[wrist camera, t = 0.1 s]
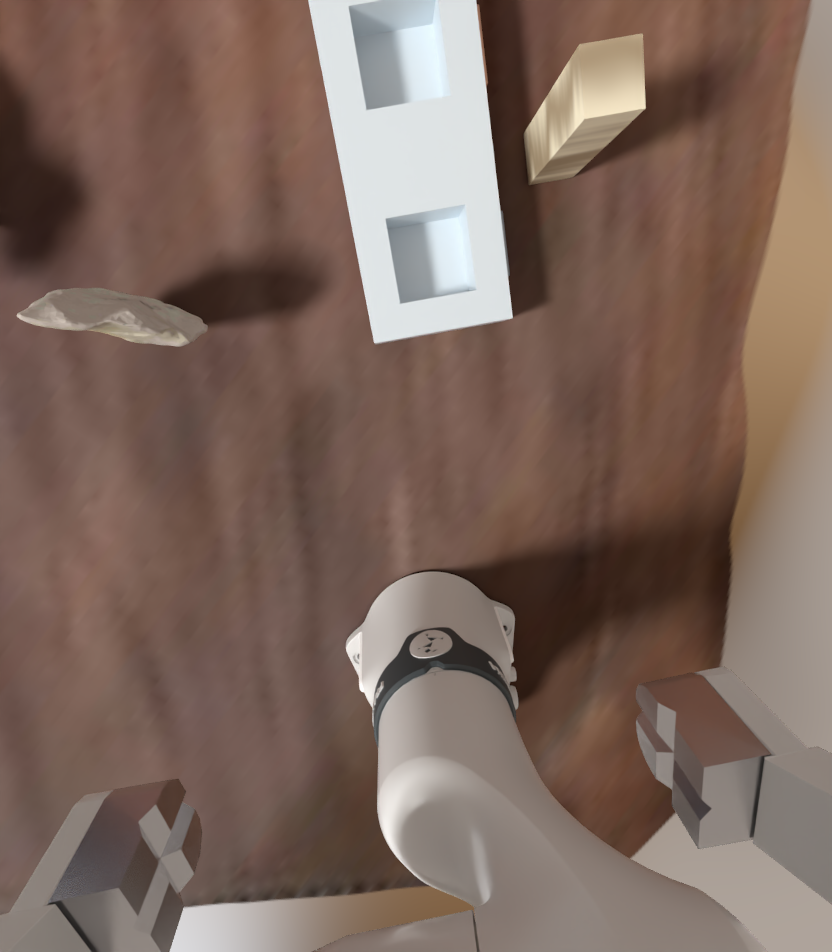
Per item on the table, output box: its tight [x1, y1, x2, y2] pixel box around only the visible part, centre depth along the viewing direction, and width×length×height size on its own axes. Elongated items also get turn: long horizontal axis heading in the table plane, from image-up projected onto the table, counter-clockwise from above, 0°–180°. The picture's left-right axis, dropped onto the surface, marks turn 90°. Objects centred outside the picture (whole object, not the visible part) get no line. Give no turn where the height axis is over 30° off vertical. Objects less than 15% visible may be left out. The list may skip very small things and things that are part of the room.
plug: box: [524, 34, 646, 185], centre depth 35 cm, size 4×4×12 cm
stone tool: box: [17, 288, 208, 346], centre depth 35 cm, size 11×4×15 cm, turn 83°
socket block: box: [308, 0, 513, 345], centre depth 38 cm, size 26×12×4 cm, turn 10°
